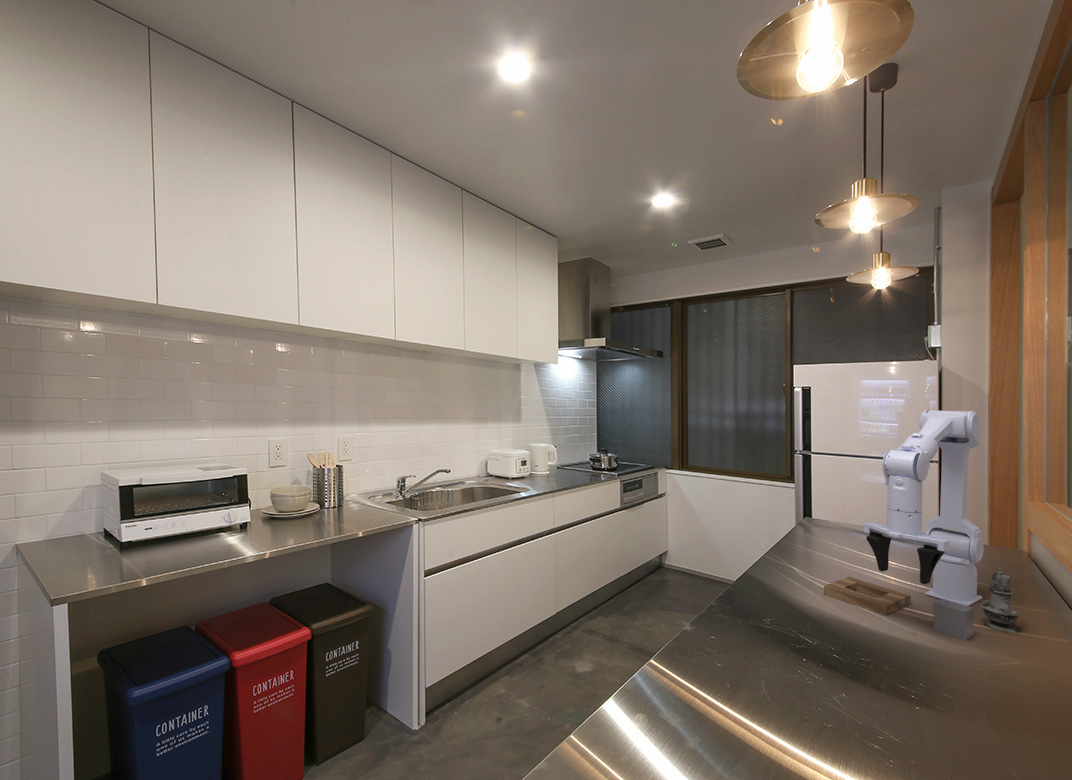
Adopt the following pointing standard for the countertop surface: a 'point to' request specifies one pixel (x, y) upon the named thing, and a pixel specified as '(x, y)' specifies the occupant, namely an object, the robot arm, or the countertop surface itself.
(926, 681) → the countertop surface
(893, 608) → the socket frame
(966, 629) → the plug
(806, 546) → the countertop surface
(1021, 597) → the countertop surface
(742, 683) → the countertop surface
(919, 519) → the robot arm
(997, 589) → the weathered stone finial
